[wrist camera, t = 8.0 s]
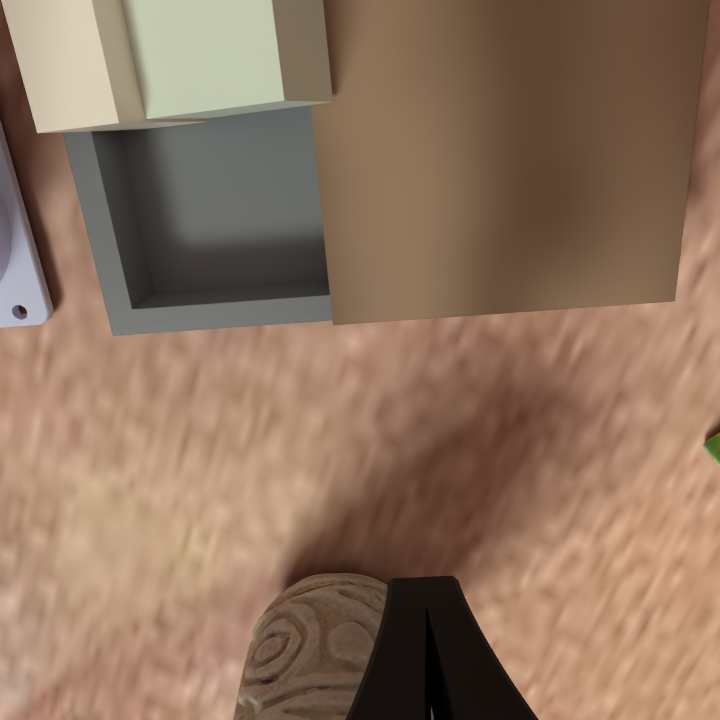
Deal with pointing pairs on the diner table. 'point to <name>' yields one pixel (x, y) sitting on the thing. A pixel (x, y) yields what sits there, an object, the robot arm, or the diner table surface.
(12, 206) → the robot arm
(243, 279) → the box
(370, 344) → the diner table surface
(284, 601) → the carving
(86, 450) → the diner table surface
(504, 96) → the board
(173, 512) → the diner table surface
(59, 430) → the diner table surface
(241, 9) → the tile
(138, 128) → the tile
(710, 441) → the syrup box
